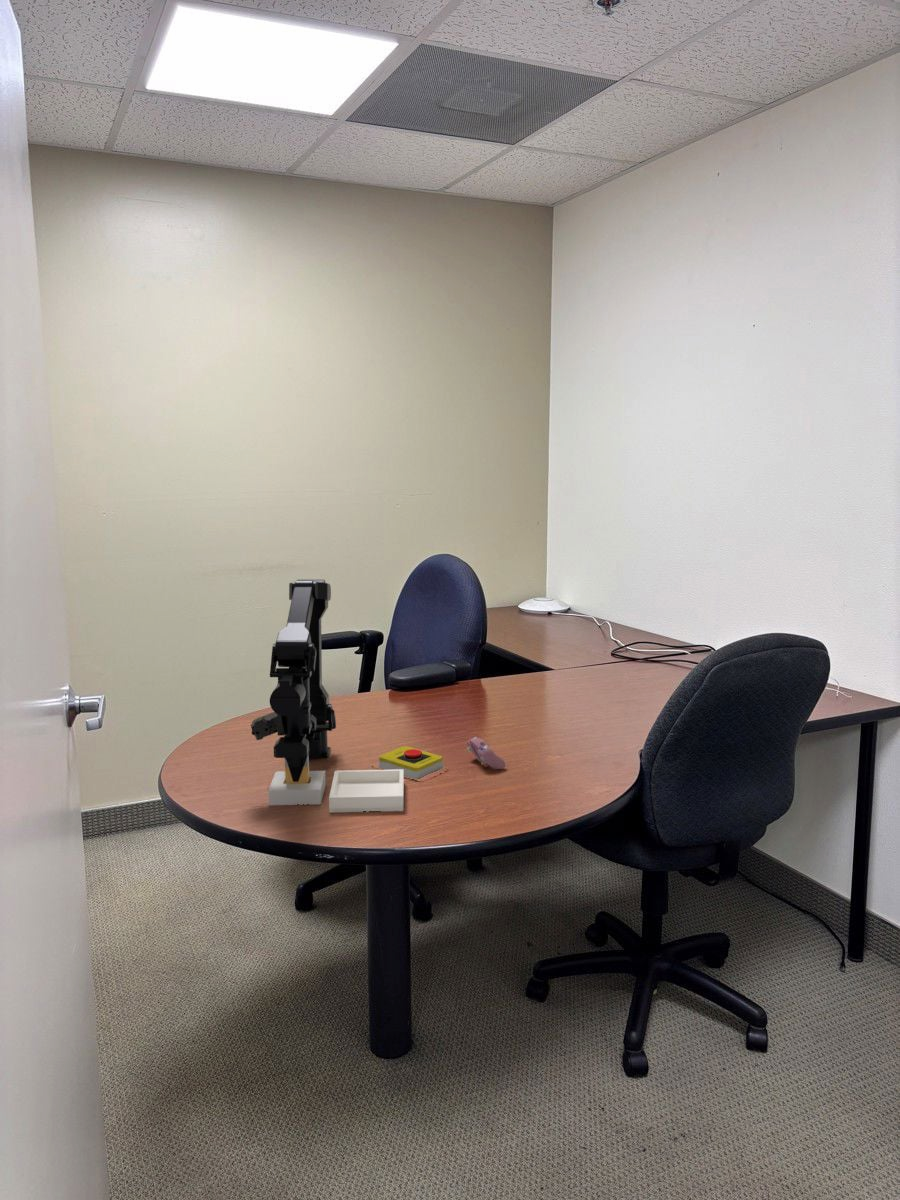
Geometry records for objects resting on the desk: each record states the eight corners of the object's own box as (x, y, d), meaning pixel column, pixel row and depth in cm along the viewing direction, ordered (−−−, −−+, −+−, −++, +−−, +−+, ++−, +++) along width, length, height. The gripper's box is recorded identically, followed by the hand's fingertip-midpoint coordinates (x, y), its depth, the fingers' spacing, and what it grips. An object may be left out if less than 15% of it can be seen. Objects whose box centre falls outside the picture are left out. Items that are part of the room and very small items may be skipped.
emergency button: (421, 764, 181) (369, 749, 190) (421, 785, 181) (369, 768, 191) (450, 752, 188) (398, 738, 197) (450, 772, 188) (398, 756, 198)
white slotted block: (276, 785, 180) (275, 771, 179) (325, 784, 180) (325, 770, 180) (268, 805, 170) (268, 790, 169) (320, 804, 170) (320, 789, 170)
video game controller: (473, 763, 197) (460, 738, 194) (489, 752, 198) (477, 727, 195) (490, 779, 187) (477, 753, 185) (508, 767, 188) (495, 741, 186)
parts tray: (335, 784, 180) (335, 770, 180) (403, 783, 181) (403, 769, 180) (329, 812, 167) (329, 797, 166) (403, 811, 167) (403, 796, 167)
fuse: (287, 792, 176) (286, 754, 175) (309, 792, 176) (308, 754, 175) (286, 797, 174) (284, 758, 172) (308, 797, 174) (307, 758, 173)
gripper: (261, 688, 181) (264, 760, 183) (244, 715, 162) (248, 795, 165) (315, 687, 181) (317, 759, 184) (305, 714, 163) (307, 794, 165)
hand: (297, 776), depth 174 cm, fingers open, 5 cm apart
